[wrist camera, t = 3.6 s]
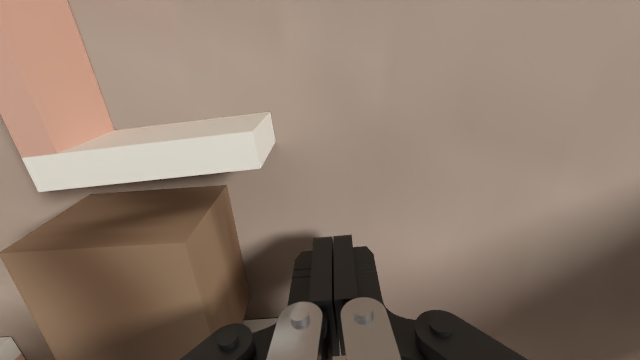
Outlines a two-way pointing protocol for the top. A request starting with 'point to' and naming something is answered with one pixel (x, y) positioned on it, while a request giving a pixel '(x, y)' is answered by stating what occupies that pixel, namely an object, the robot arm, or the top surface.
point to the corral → (100, 120)
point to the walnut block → (133, 274)
